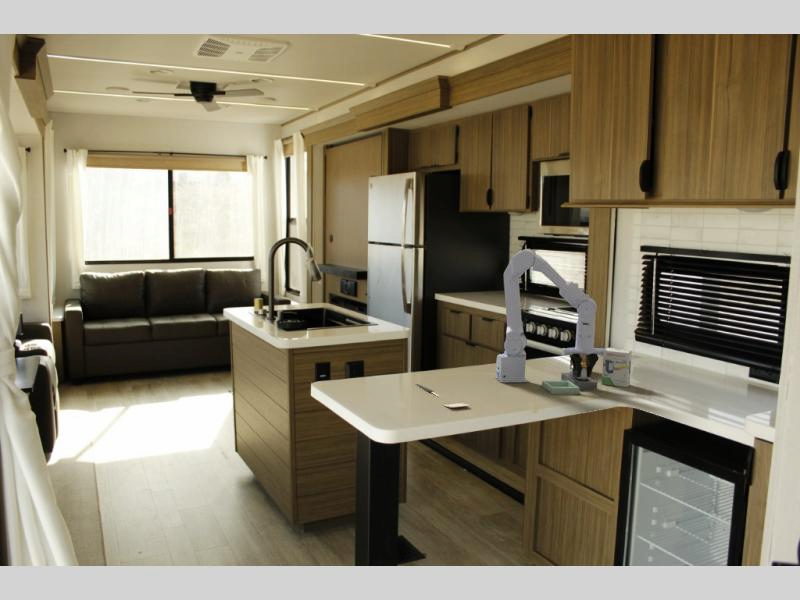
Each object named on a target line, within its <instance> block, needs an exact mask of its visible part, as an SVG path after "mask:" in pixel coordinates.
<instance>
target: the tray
mask: <svg viewBox="0 0 800 600" xmlns="http://www.w3.org/2000/svg"><path fill="white" fill-rule="evenodd" d="M541 381H542V382H541V387H542V389H544V390H546V391H547V392H548V393H549V394H551V395H580V391H581V390H580V388H579V387H578V386H576V385H574V384H573V383H571V382H570V381H562V380H541Z"/></svg>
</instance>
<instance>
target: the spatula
mask: <svg viewBox="0 0 800 600" xmlns="http://www.w3.org/2000/svg"><path fill="white" fill-rule="evenodd" d="M416 385H417V386H416ZM415 386H416V387H418V386H419V387H418V388H420V389H421V388H422V390H423V389H424V391H425V390H426V391H425V392H428V393H430V394H433V396H435V395H436V396H435V397H437V396H440V395H439V394H437V393H436V392H434V390H432V389H430V388H428V387H426V386H423V385H421V384H419V383H418V384H417V383H416V384H415ZM443 405H444V407H447V408H462V407H469V406H470V404H467V403H463V402H462V403H461V402H459V403H452V404H450V403H449V405H448V404H443Z"/></svg>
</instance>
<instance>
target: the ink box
mask: <svg viewBox="0 0 800 600" xmlns="http://www.w3.org/2000/svg"><path fill="white" fill-rule="evenodd" d="M605 349H606V350H607V353H606V355H602V370H601V371H602V373H601V375H602V376H601V377H602V378H601V385H605V386H614V387H623V388H628V387H629V386H630V384H631V373H632V371H631V370H632V356H633V355H632V353H633V351H632V350H630V349H622V348H615V347H605Z"/></svg>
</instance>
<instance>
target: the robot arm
mask: <svg viewBox="0 0 800 600" xmlns="http://www.w3.org/2000/svg"><path fill="white" fill-rule="evenodd" d="M529 269H531V271H534V272H538V273H541V274H542V275H544V276H545V277H546V278H547V279H548V280H549V281H551V282H552V283H553V284H554V285H555V286H556V287H557V288H558V289H559V295H560V296H561V297H562V298H563V299H564V300H565V301H566V302H568V304H570V306H571V307H573V308H575V309H576V312H577V315H578V317H577V321H576V335H575V346H574V347H567V348H565V347H563V348H561V355H563V356H569V359H571V361H572V363H573V366H574V371H575V376H576V377H580V367H581V362H582V358H581V357H580V355H585V356H586V363H587V364H588V374H587V377H589V378H591V375H592V372H593V370H594V367H595V365H596V363H597V362H598V361H599V359H600V358H599V356H603V355H606V353H607V350H606V348H601V347H600V348H599V347H594V345H595V335H596V334H595V332H596V322H595V321H596V312H597V309H598V307H597V303H596V301H595V300H594V299H593V298H592V297H590V295H589V293H587V294H586V293H585V292H584V291H583V290H582V289H581V288H580V287H579V284H578V283H577V282H573V281H570V280H569V281H568V280H567V281H566V280H565V278H564V277H562V275H560V273H559V272H557V270H556V269H555V268H553V266H552V265H551V264H550V263H548V261H547V260H546V259H544V258H543V257H542V256H541V255H539V254H537V253H536V252H535V251H534V250H533V249H531V248H525V249H522V250H519V251H518V252H517V253H515V254H514V255H513V256H512V257H511V259H510V261H509V263H508V265H507V267H506V268H505V270H504V272H503V288H504V289H503V290H504V299H505V314H506V315H505V316H506V332H505V335H506V337H505V341H504V343H503V345H504V346H503V347H504V353H502V354H501V353H499V354H497V356H496V360H495V361H496V362H495V363H496V364H495V376H494V378H496V379H497V380H498V381H499V382H501V383H530V382H529V379H527V378H525V377H526V363H527V360H526V359H527V353H526V351H525V348H526V347H527V344H528V339H527V337H526V336H525V333H524V327H523V323H522V322H523V321H522V309H521V307H522V306H521V294H520V283H519V282H520V280H519V279H520V278H521V276H522V275H523V274H524V273H525V271H527V270H529Z"/></svg>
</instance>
